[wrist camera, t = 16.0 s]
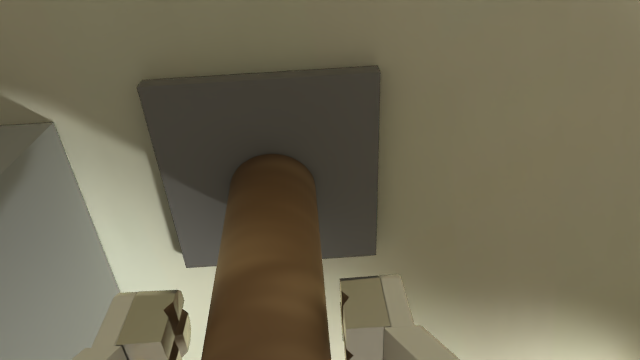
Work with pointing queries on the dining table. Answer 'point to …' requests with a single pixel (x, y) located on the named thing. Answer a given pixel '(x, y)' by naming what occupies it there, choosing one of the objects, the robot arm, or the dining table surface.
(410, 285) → the dining table surface
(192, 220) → the pad
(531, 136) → the dining table surface
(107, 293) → the box
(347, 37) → the dining table surface
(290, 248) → the peg
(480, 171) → the dining table surface
